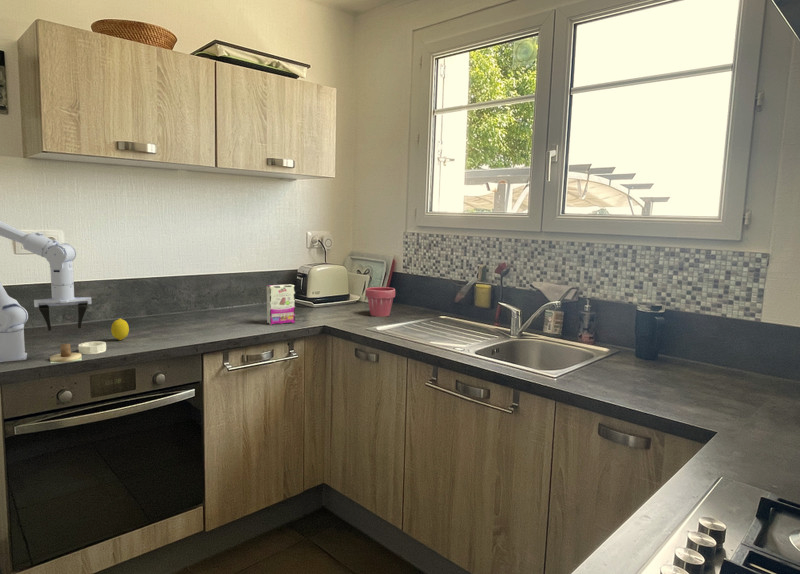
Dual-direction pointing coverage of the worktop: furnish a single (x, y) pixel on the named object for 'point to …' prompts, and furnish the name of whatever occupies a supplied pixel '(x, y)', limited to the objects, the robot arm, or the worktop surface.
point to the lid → (65, 354)
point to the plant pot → (380, 300)
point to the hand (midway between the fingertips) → (64, 328)
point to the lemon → (120, 329)
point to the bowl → (92, 347)
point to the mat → (74, 360)
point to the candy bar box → (280, 304)
